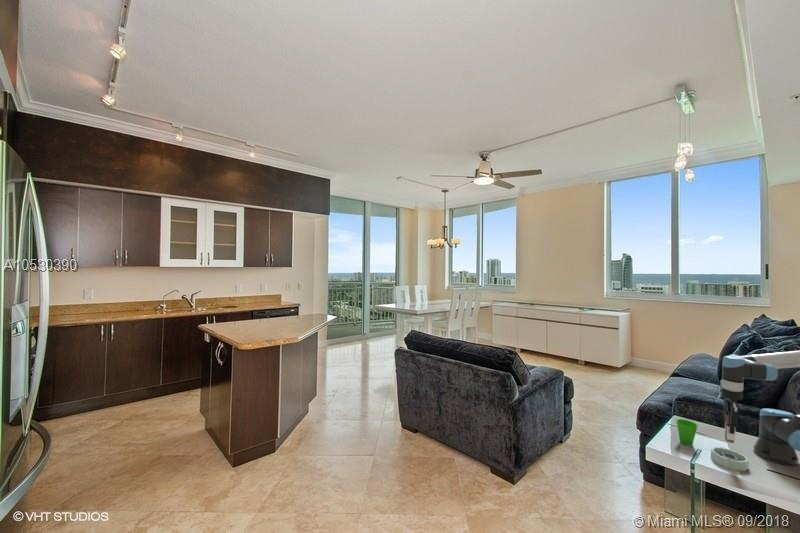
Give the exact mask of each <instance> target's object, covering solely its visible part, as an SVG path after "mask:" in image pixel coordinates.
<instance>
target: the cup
mask: <svg viewBox="0 0 800 533" xmlns="http://www.w3.org/2000/svg"><path fill="white" fill-rule="evenodd" d="M675 421H676V425H677V432H678V438H679V442H680V443H681V444H682V445H685V446H693V444H694V440H695V437H696V433H697V430H698V427H699V424H698V423H697V422H694V421H692V420H688V419H686V418H685V419H684V418H677V419H676V420H675Z"/></svg>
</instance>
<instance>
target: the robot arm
mask: <svg viewBox="0 0 800 533" xmlns="http://www.w3.org/2000/svg"><path fill="white" fill-rule="evenodd" d="M721 365H722V366H721V380H719V381H720V383H721V388H720V395H721V396H722V397H724V398H723V420H724V432H725V431H726V426H727V439H728V440H733V441H734V442H735V441H736V428H738V426H739V425H738V423H739V414H740V407H739V403H738V401H742V400H743V399H744V398H743V397H744V392H743V391H744V383H745V382H744V380H745V379H746V380H747V379H748V380H758V381H759V380H760V381H770V382H772V381H776V379H777V378H779V377H778V376H779V373H778V370H780V369H791V368H792V369H793V368H800V349H799V350H790V351H780V352H772V353H759V354H750V355H749V354H748V355H739V354H729V355H725V356H723V358H722V363H721ZM726 415H728V424H726ZM758 416H759V428H758V429H759V430H758V431H759V432H758V437H757V439H756V442H755V443H754V444H753V452H754V454H756V455H757V456H759V457H761V458H763V459H765V460H768V461H771V462H773V463H777V464H782V465H785V466H797V465H796V464H798V465H799V457H798V454H797V452H796V451H798V452H800V414H794V413H793V412H789V411H785V410H781V409H775V408H761V409H760V411H759V415H758Z"/></svg>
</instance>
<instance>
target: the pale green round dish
mask: <svg viewBox="0 0 800 533" xmlns="http://www.w3.org/2000/svg"><path fill="white" fill-rule="evenodd" d="M710 458H711V460H712V461H713V462H715V463H716V464H718V465H719V466H722V467H725V468H727V469H731V470H735V471H747V470H749V464H750V463H749V462H750V461H749V458H748V457H747V456H746V455H744V454H742V453H741V452H738V451H736V450H732V449H730V448H724V447H718V446H714V447H711V448H710Z"/></svg>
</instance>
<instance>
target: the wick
mask: <svg viewBox="0 0 800 533" xmlns="http://www.w3.org/2000/svg"><path fill="white" fill-rule="evenodd" d="M726 424H728V415H726ZM724 440H725V442H727V443H731V444H734V443H735V441H733V440H728V439H727V426H726V431H725V430H724Z"/></svg>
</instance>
